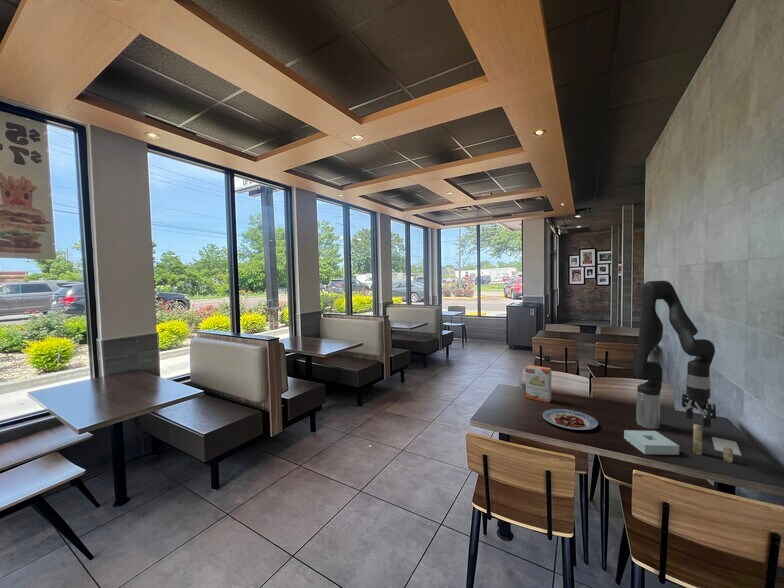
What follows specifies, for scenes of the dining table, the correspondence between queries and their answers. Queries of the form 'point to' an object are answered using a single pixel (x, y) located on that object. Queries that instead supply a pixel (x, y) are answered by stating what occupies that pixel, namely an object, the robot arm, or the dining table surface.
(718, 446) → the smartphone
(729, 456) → the short pin
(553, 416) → the ceramic plate
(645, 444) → the hole block
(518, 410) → the dining table surface
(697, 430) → the long pin
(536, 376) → the cracker box
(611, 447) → the dining table surface
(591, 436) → the dining table surface
